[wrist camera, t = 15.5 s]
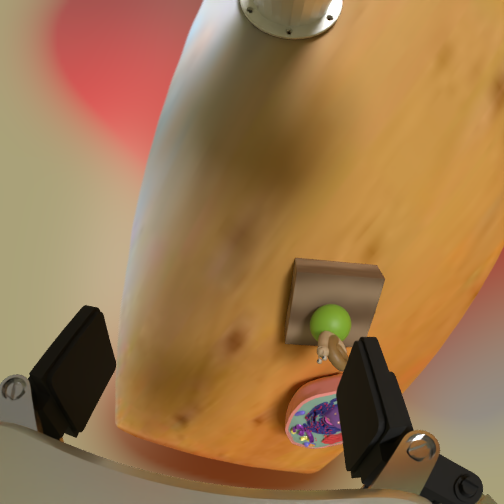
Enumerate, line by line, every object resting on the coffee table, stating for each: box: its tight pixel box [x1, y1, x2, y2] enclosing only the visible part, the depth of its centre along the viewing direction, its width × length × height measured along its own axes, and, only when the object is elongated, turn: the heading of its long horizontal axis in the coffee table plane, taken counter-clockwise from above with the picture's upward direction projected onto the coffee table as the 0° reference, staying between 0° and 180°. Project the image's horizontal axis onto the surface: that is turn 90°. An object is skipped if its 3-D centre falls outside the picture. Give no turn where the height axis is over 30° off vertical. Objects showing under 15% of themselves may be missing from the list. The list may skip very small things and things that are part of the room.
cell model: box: [285, 373, 343, 449], centre depth 48 cm, size 17×20×11 cm
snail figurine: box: [310, 304, 351, 371], centre depth 35 cm, size 5×6×12 cm
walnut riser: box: [285, 258, 385, 347], centre depth 42 cm, size 12×12×4 cm
